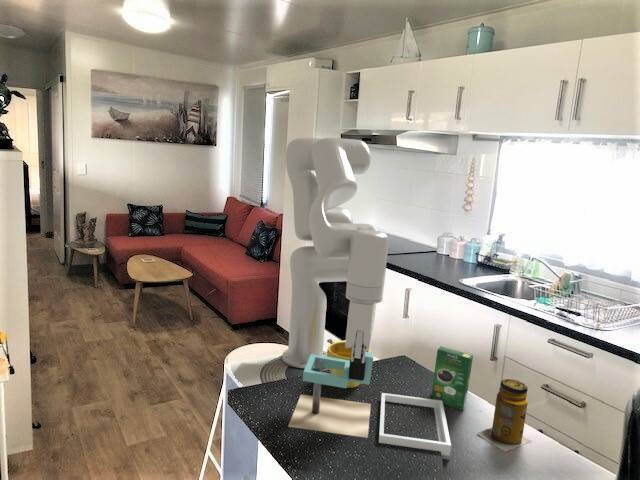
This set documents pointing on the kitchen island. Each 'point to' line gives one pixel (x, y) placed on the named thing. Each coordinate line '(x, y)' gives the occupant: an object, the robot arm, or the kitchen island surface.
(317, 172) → the robot arm
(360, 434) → the board
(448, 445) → the white rectangular frame
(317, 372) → the teal frame with handle
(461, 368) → the coffee box
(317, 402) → the stake
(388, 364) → the kitchen island surface
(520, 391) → the condiment
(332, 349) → the plant pot
